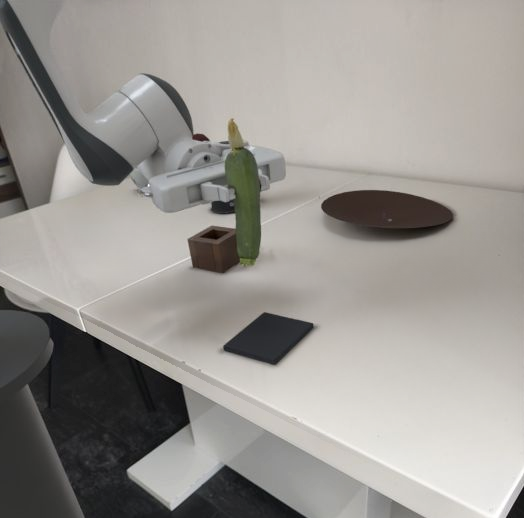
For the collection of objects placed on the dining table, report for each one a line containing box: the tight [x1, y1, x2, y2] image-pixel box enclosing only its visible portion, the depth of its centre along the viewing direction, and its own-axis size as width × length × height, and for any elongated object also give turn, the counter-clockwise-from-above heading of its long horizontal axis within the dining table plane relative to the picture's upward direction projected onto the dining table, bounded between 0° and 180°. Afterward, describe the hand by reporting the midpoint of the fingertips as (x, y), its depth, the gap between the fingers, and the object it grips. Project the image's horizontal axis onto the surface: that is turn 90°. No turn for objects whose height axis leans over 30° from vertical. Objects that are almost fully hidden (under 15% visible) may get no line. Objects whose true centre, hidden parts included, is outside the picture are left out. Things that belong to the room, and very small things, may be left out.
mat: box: [222, 311, 314, 366], centre depth 80 cm, size 11×9×1 cm
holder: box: [187, 225, 240, 274], centre depth 105 cm, size 8×8×6 cm
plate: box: [320, 189, 454, 229], centre depth 117 cm, size 28×28×4 cm
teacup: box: [128, 166, 149, 190], centre depth 156 cm, size 15×12×8 cm
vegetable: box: [225, 118, 262, 268], centre depth 72 cm, size 4×4×20 cm
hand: (248, 189), depth 71 cm, fingers closed on vegetable, 4 cm apart
